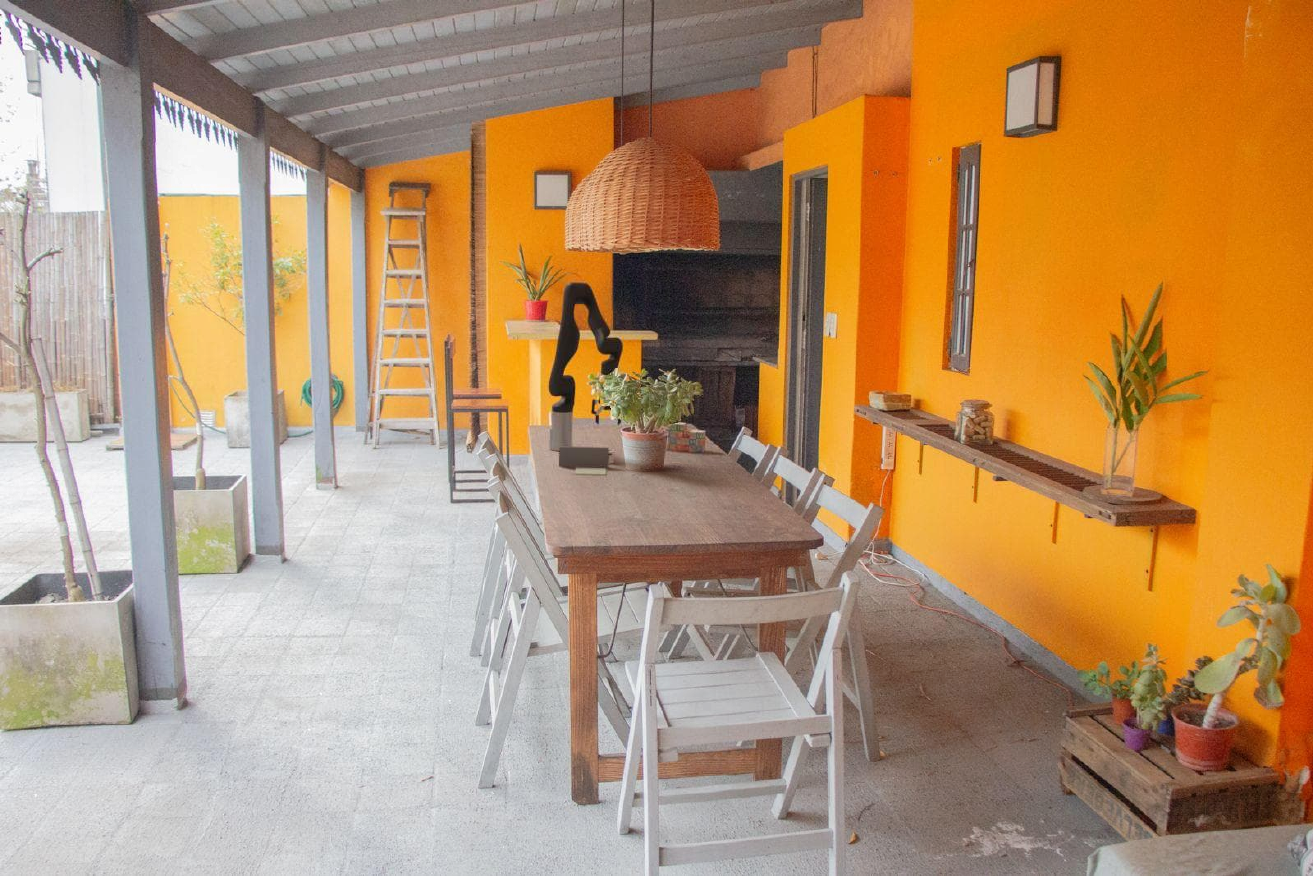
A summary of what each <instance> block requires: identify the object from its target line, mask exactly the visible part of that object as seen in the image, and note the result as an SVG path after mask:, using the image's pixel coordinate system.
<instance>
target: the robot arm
mask: <svg viewBox="0 0 1313 876" xmlns="http://www.w3.org/2000/svg"><path fill="white" fill-rule="evenodd" d="M562 298H563V299H562V311H561V320H560V327H559V331H558V337H557V342H556V350H555V354H554V361H553V364H552V369H551V373H550V377H549V379H548V391H549V394H550V396H553V397H561V398H560V399H559V400H558V401H557V402H555V403H554V404H552V406H551V427H550V428H549V450H552V451H555V452H559V446H569V447H573V430H574V428H573V425H574V421H573V420H574V415H573V414H574V407H575V401H576V381H575V378H574V377H573V375H570V374H564V373H565V370H566V367H567V366H568V364H569V363H570V362H571V360H572V359H573V357H574V356H575V355H576V353H577V352H578V350H579V344H580V340H581V339H580V337H581V333H580V329H579V327H578V324H577V321H576V319H575V308H576V305H584V306H585V307H586V309H587V312H588V315H587V325H588V328H589V329H590V331H591V333H592V334H593V336H594V340H595V343H596V349H597V351H598V352H599V353H600V354H602V355H605V356H607V355H608V356H609V357H608V358H607V359H606V360H603V361H602V362H601V364H600V365H601V367H600V368H601V369H600V377H601V376H604V375H608V374H610V373H611V372H613V371H614V369H615V368H618V369H619V363H620V361H621V357H622V354H623V351H624V350H623V349H624V345H623V341H622V339H621V338H619V337H612V336H611V337H610V335H611V329H610V327H609V325H608V323H607V322H606V321H605V318H604V317H603V315H602V313H601V311H600V308H599V305H598V302H597V299H596V297H595V294H594V291H593V288H592V287H591V286H590V285H589V284H588V283H586V282H576V281H575V282H573V281H572V282H568V283H567V284H566V285H565V287H564V290H563V297H562ZM591 402H592V403H591V412H590V413H591V415H595V424H597V425H600V413H601V412H602V411H612V410H611V408H610V406H601V405H600V398H598V399H595V398H593V399H592V401H591ZM597 404H599V405H600V406H599V407H598V409H597V410H595V408H596V405H597ZM620 424H622V419H621V420H620V419H618V418H617V426H619V425H620Z"/></svg>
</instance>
